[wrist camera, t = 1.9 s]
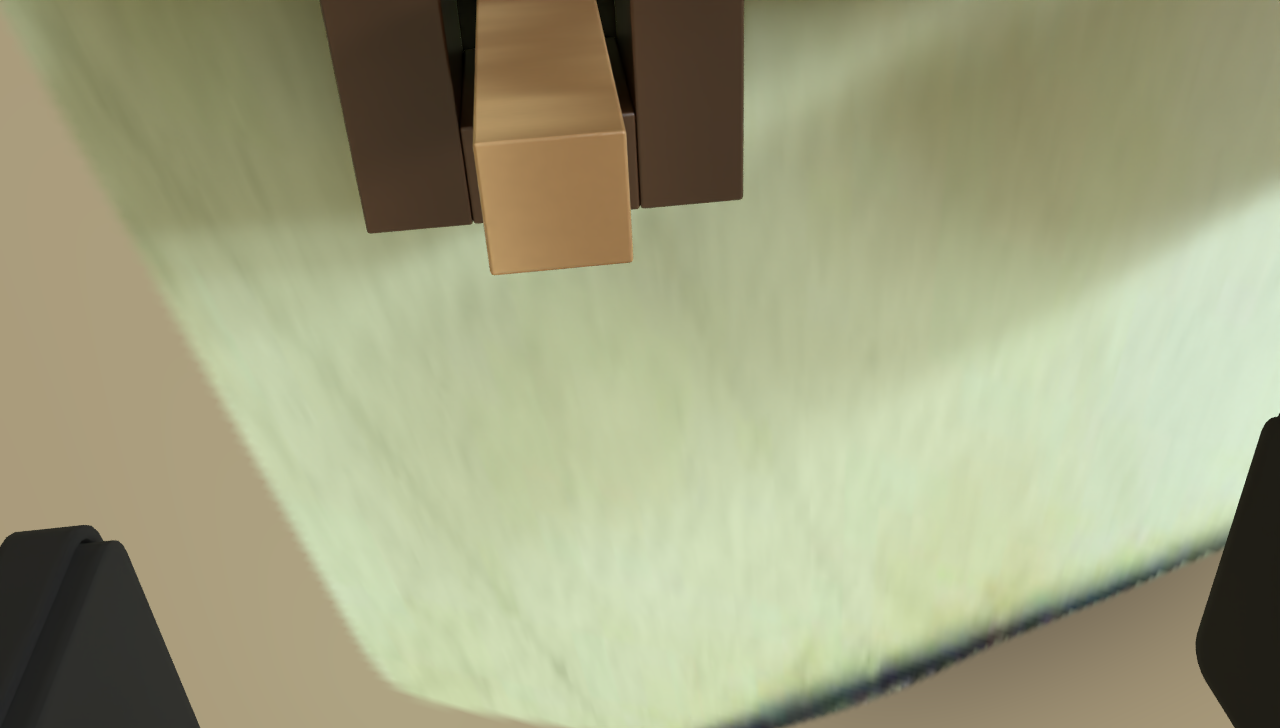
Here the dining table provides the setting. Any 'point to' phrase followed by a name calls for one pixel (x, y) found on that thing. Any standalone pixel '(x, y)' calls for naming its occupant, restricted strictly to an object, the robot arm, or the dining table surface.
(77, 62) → the dining table surface
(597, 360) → the dining table surface
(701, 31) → the utensil stand
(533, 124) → the light brown wooden bar
